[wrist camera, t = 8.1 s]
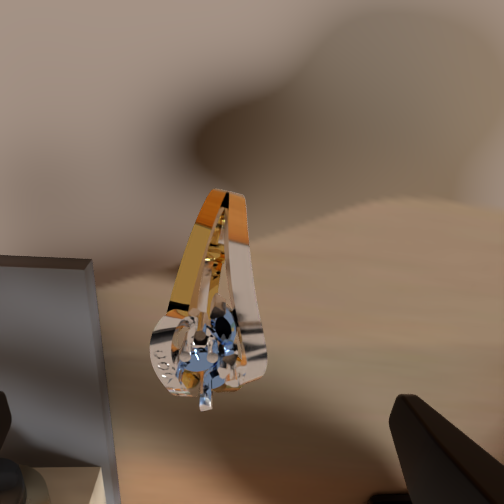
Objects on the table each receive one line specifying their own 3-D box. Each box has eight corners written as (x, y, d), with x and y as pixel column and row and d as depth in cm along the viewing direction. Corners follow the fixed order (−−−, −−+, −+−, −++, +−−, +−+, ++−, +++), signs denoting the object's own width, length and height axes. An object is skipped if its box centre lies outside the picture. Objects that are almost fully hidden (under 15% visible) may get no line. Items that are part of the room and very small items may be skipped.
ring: (194, 161, 14) (164, 240, 7) (270, 178, 15) (312, 269, 8) (168, 302, 17) (128, 461, 10) (233, 313, 18) (239, 471, 11)
